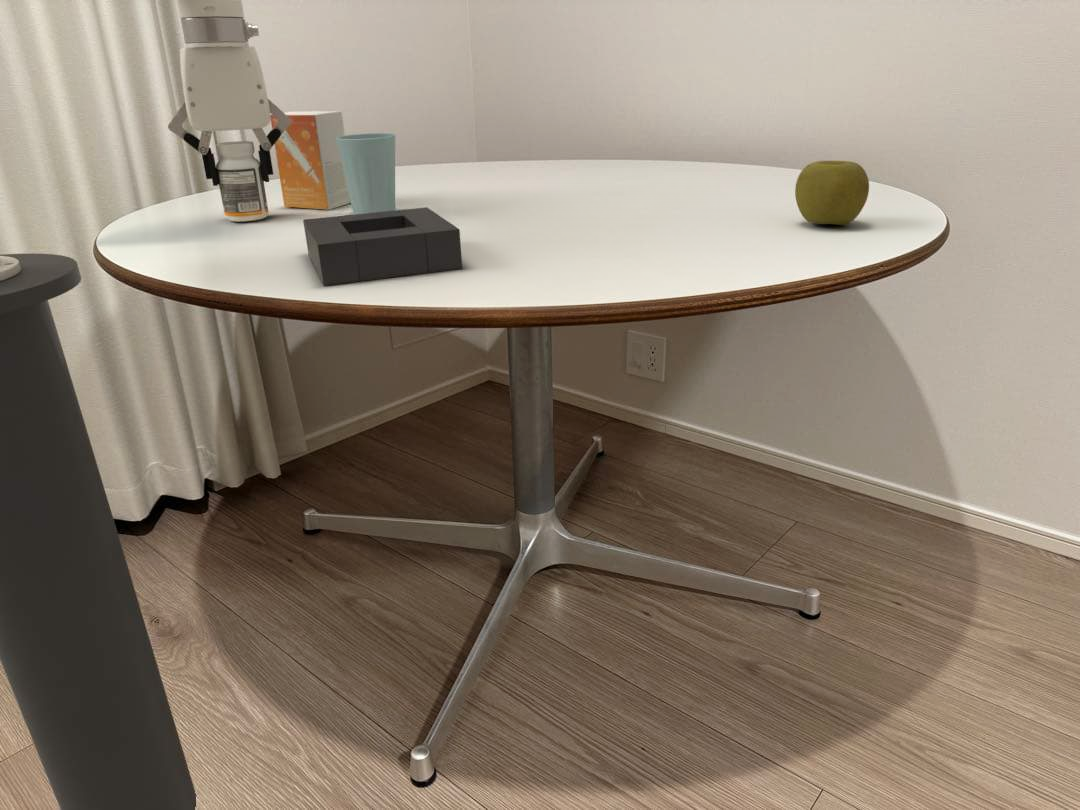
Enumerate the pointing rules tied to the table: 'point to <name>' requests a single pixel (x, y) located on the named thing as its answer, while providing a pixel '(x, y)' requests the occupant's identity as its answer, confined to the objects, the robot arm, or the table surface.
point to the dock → (381, 245)
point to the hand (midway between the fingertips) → (241, 181)
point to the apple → (831, 192)
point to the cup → (369, 170)
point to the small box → (311, 160)
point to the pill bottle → (241, 182)
